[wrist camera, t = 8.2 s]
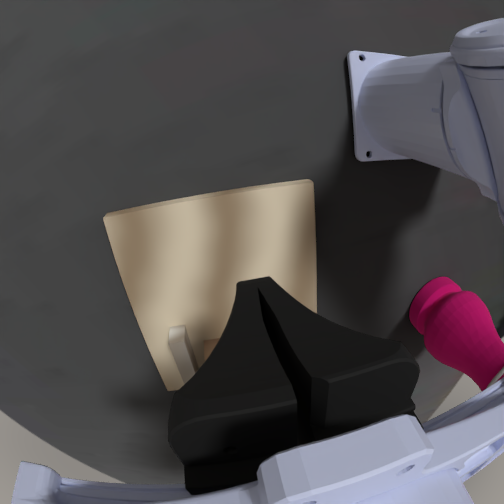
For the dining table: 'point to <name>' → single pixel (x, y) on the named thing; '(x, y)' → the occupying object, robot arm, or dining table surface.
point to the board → (210, 263)
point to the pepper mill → (458, 330)
